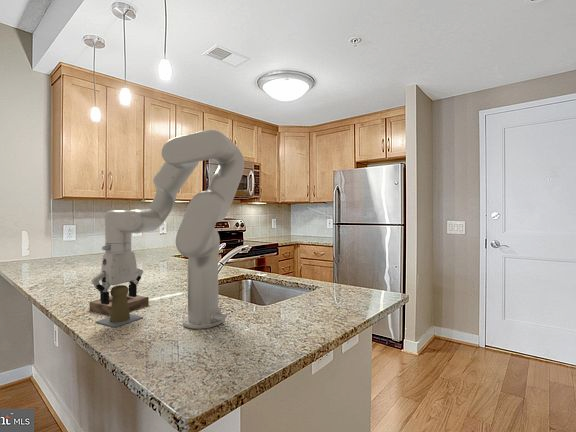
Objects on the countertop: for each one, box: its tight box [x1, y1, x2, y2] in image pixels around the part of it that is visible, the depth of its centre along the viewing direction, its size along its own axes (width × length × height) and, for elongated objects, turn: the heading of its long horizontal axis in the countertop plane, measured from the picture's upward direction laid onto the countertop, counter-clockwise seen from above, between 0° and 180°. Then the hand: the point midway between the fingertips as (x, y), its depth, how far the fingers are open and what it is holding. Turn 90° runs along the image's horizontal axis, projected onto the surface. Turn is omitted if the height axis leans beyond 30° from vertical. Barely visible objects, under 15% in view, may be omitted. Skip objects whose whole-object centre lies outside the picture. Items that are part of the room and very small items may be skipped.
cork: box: [109, 284, 131, 323], centre depth 105 cm, size 6×6×11 cm
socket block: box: [88, 293, 150, 316], centre depth 119 cm, size 14×14×3 cm
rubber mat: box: [95, 313, 144, 328], centre depth 105 cm, size 10×10×1 cm
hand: (119, 300), depth 105 cm, fingers open, 9 cm apart
